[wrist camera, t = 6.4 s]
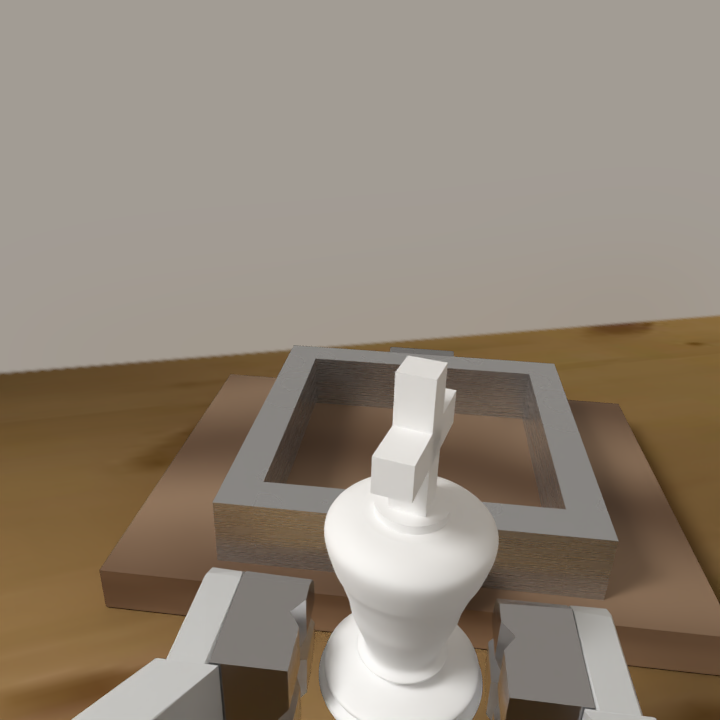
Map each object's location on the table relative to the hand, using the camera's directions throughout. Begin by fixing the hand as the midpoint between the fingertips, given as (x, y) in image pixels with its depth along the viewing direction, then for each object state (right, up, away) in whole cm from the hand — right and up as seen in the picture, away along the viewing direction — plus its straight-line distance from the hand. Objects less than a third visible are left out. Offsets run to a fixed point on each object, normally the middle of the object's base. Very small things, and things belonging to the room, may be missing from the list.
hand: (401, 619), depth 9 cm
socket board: (+1, -1, +11) cm, 12 cm away
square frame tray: (+1, 0, +11) cm, 11 cm away
